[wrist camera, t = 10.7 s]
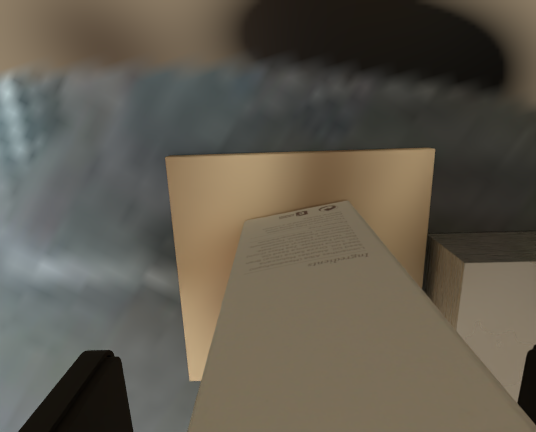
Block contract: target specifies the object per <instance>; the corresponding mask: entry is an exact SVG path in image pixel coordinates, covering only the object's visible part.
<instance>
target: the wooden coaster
mask: <svg viewBox="0 0 536 432" xmlns="http://www.w3.org/2000/svg"><path fill="white" fill-rule="evenodd" d="M434 157H435V149H432V148H402V149H370V150H337V151H305V152H273V153H241V154H208V155H176V156H168V157H165V160H166V169H167V178H168V188H169V197H170V206H171V215H172V224H173V233H174V242H175V251H176V260H177V270H178V279H179V288H180V297H181V306H182V315H183V324H184V333H185V342H186V352H187V361H188V370H189V379H190V381H201V380H202V376H203V372H204V368H205V365H206V361H207V357H208V353H209V350H210V346H211V342H212V339H213V335H214V332H215V328H216V324H217V320H218V317H219V313H220V309H221V305H222V301H223V298H224V294H225V290H226V286H227V283H228V280H229V276H230V272H231V269H232V265H233V262H234V258H235V254H236V251H237V247H238V243H239V240H240V235H241V232H242V229H243V225H244V222H245V221H247V220H250V219H256V218H262V217H267V216H272V215H277V214H282V213H287V212H292V211H297V210H301V209H306V208H311V207H316V206H322V205H327V204H332V203H337V202H342V201H349V202H350V203H351V204H352V206H353V207H354V208H355V209H356V210H357V212H358V213H359V214H360V215H361V216H362V217H363V219H364V220H365V221H366V222H367V223H368V225H369V226H370V227H371V228H372V230H373V231H374V232H375V233H376V234H377V236H378V237H379V238H380V239H381V241H382V242H383V243H384V244H385V245H386V247H387V248H388V249H389V251H390V252H391V253H392V254H393V255H394V256H395V258H396V259H397V260H398V261H399V262H400V264H401V265H402V266H403V267H404V268H405V269H406V271H407V272H408V273H409V275H410V276H411V277H412V278H413V279H414V280H415V282H416V283H417V284H418V285H419V286H420V288H421V289H422V284H423V274H424V263H425V253H426V242H427V231H428V221H429V210H430V200H431V189H432V178H433V168H434Z"/></svg>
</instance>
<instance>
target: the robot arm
mask: <svg viewBox="0 0 536 432" xmlns="http://www.w3.org/2000/svg"><path fill="white" fill-rule="evenodd" d="M517 403H518V405H519V406H520V407H521V408H522V409H523V411H524V412H525V413H526V414H527V415H528V417H529V418H530V419H531V420H532V421H533V423H534V424H535V425H536V344H535V345H534V346H533V349H531V350H529V351H528V352H527V355H526V360H525V365H524V371H523V376H522V381H521V386H520V391H519V397H518V402H517ZM18 432H133V427H132V421H131V415H130V409H129V403H128V398H127V392H126V386H125V380H124V374H123V368H122V362H121V359H120V358H119V357H115V356H114V353H113V352H112V351H110V350H91V351H84V352H83V353H82V354H81V355H80V356H79V357H78V359H77V360H76V361H75V362H74V363H73V365H72V366H71V367H70V368H69V370H68V371H67V372H66V373H65V375H64V376H63V377H62V378H61V380H60V381H59V382H58V383H57V384H56V386H55V387H54V388H53V389H52V391H51V392H50V393H49V394H48V396H47V397H46V398H45V399H44V401H43V402H42V403H41V404H40V405H39V407H38V408H37V409H36V410H35V412H34V413H33V414H32V415H31V417H30V418H29V419H28V420H27V422H26V423H25V424H24V425H23V426H22V428H21V429H20V430H19V431H18Z"/></svg>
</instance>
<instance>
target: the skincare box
mask: <svg viewBox="0 0 536 432" xmlns="http://www.w3.org/2000/svg"><path fill="white" fill-rule="evenodd" d="M187 432H536V425H535V424H534V423H533V421H532V420H531V419H530V418H529V417H528V415H527V414H526V413H525V412H524V411H523V409H522V408H521V407H520V406H519V405H518V403H517V402H516V401H515V400H514V399H513V398H512V396H511V395H510V394H509V393H508V392H507V390H506V389H505V388H504V387H503V386H502V385H501V383H500V382H499V381H498V380H497V379H496V377H495V376H494V375H493V374H492V373H491V371H490V370H489V369H488V368H487V367H486V366H485V364H484V363H483V362H482V361H481V360H480V359H479V357H478V356H477V355H476V354H475V353H474V351H473V350H472V349H471V348H470V347H469V346H468V344H467V343H466V342H465V341H464V340H463V338H462V337H461V336H460V335H459V333H458V332H457V331H456V330H455V329H454V327H453V326H452V325H451V324H450V323H449V322H448V320H447V319H446V318H445V317H444V315H443V314H442V313H441V311H440V310H439V309H438V308H437V307H436V306H435V305H434V303H433V302H432V301H431V299H430V298H429V297H428V296H427V295H426V293H425V292H424V291H423V290H422V289H421V288H420V286H419V285H418V284H417V283H416V282H415V280H414V279H413V278H412V277H411V276H410V275H409V273H408V272H407V271H406V269H405V268H404V267H403V266H402V265H401V264H400V262H399V261H398V260H397V259H396V258H395V256H394V255H393V254H392V253H391V252H390V251H389V249H388V248H387V247H386V245H385V244H384V243H383V242H382V241H381V239H380V238H379V237H378V236H377V234H376V233H375V232H374V231H373V230H372V228H371V227H370V226H369V225H368V223H367V222H366V221H365V220H364V219H363V217H362V216H361V215H360V214H359V213H358V212H357V210H356V209H355V208H354V207H353V206H352V204H351V203H350V202H349V201H342V202H337V203H332V204H327V205H322V206H316V207H311V208H306V209H301V210H297V211H292V212H287V213H282V214H277V215H272V216H267V217H262V218H256V219H250V220H247V221H245V222H244V225H243V229H242V232H241V235H240V240H239V243H238V247H237V251H236V254H235V258H234V262H233V265H232V269H231V272H230V276H229V280H228V283H227V286H226V290H225V294H224V298H223V301H222V305H221V309H220V313H219V317H218V320H217V324H216V328H215V332H214V335H213V339H212V342H211V346H210V350H209V353H208V357H207V361H206V365H205V368H204V372H203V376H202V380H201V384H200V387H199V391H198V394H197V398H196V401H195V405H194V409H193V413H192V417H191V420H190V424H189V428H188V431H187Z"/></svg>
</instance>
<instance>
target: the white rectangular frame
mask: <svg viewBox="0 0 536 432" xmlns="http://www.w3.org/2000/svg"><path fill="white" fill-rule="evenodd" d="M422 290H423V291H424V292H425V293H426V295H427V296H428V297H429V298H430V299H431V301H432V302H433V303H434V305H435V306H436V307H437V308H438V309H439V310H440V311H441V313H442V314H443V315H444V317H445V318H446V319H447V320H448V322H449V323H450V324H451V325H452V326H453V327H454V329H455V330H456V331H457V332H458V333H459V335H460V336H461V337H462V338H463V340H464V341H465V342H466V343H467V344H468V346H469V347H470V348H471V349H472V350H473V351H474V353H475V354H476V355H477V356H478V357H479V359H480V360H481V361H482V362H483V363H484V364H485V366H486V367H487V368H488V369H489V370H490V371H491V373H492V374H493V375H494V376H495V377H496V379H497V380H498V381H499V382H500V383H501V385H502V386H503V387H504V388H505V389H506V390H507V392H508V393H509V394H510V395H511V396H512V398H513V399H514V400H515V401H516V402H518V397H519V391H520V386H521V381H522V376H523V371H524V365H525V360H526V355H527V352H528V351H529V350H531V349H533V346H534V345H535V344H536V231H525V232H486V233H447V234H427V242H426V253H425V263H424V274H423V284H422Z"/></svg>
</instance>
